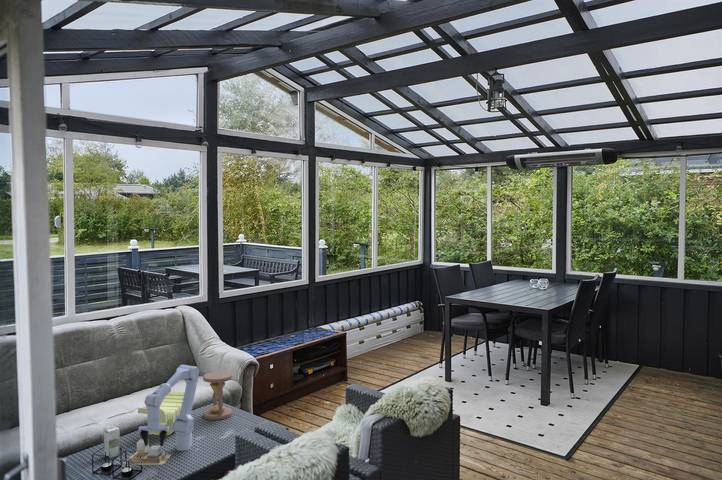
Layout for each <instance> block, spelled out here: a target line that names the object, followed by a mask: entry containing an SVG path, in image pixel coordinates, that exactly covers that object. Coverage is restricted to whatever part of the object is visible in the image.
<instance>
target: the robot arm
mask: <svg viewBox="0 0 722 480" xmlns="http://www.w3.org/2000/svg"><path fill="white" fill-rule="evenodd" d="M199 374H200V369H199V368H198V366H193V365H187V364H180V365H179V366H178V367H177V368H176V371H175V373H174V374H173V375H172V376H171V377H170V378H169V379H168V380H167V382H166V383H163V382H162V383H161V384H159V386H158V387H157V388H156V389H155V390H154V391H153V392H152V393H149V394H147V395H146V397H145V399H144V404H145V406H146V407H145V408H146V409H147V414H146V415H147V425H143V426H142V425H139V427H138V432H139V435H140V436H141V439H143V441H144V444H145V446H147V445H148V440H149V434H148V432H152V431H161V432H160V433H159V435H158V436H159V442H160V443H159V446H161V447H163V446H164V442H165V439H166V436H167V435H166V434H167V432H168V431H169V427H168V426H161V425H160V405H161V404H162V401H163V400H164V397H165V396H167V395H168V394H169V393H170V392H172V388H173V387H174V386H176V384H178V383H179V382H180V381H181V380H184V382H185V383H186V384H185V389H184V390H185V391H184V392H185V393H184V398H183V403H182V407H181V412H180V414H179V415H178V416H176V419H175V421H174V423H173V430H174V433H175V441H176V442H175V443H176V445H175V447H176V448H175V449H176V451H179V452H184V451H188V450H190V449H191V447H192V445H193V433H192V432H193V430H194V427H195V425H194V421H195V419H194V417H193V416H192V411H193V405H194V401H195V397H196V391H197V387H198V386H197V385H198V383H199V382H198V381H199V380H198V379H199Z"/></svg>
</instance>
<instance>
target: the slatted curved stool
mask: <svg viewBox="0 0 722 480" xmlns="http://www.w3.org/2000/svg"><path fill="white" fill-rule="evenodd" d="M184 393H185V391H170V393H169V394H168V395H167V396H165V397H164V400H163V401H162V404H161V405H160V425H161V426H168V427H169V431H168V432H167V434H166V436H169V435H171V434H172V433H175V431H174V430H173V423H174V421H175V419H176V416H178V415H179V414H180V412H181V407H182V403H183V398H184ZM137 413H138V414H145V415H148V414H147V407H141V408H140V407H138V408H137ZM160 432H161V431H152V432H148V435H152V434H154V435H155V436H156V435H157V436H160V435H159V433H160ZM154 435H153V436H154Z"/></svg>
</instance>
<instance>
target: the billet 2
mask: <svg viewBox="0 0 722 480" xmlns="http://www.w3.org/2000/svg"><path fill="white" fill-rule="evenodd" d="M147 451H148V452H149V458H159V457H160V456H161V452H162V446H160V445H151V446H149V449H148V450H147Z"/></svg>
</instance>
